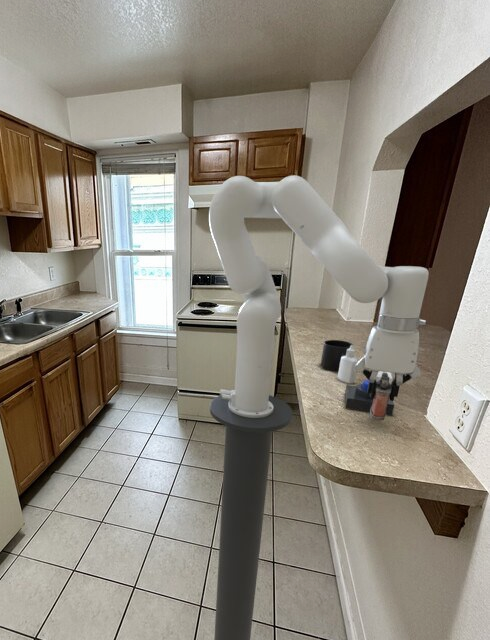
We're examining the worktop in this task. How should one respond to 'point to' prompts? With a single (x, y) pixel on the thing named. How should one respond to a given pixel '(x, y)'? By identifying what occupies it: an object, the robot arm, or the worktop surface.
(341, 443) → the worktop surface
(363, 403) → the button housing
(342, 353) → the mug
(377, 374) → the soap bar
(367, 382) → the blue button cap
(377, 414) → the lighter
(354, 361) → the eye dropper bottle
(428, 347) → the worktop surface
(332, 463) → the worktop surface
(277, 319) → the robot arm
